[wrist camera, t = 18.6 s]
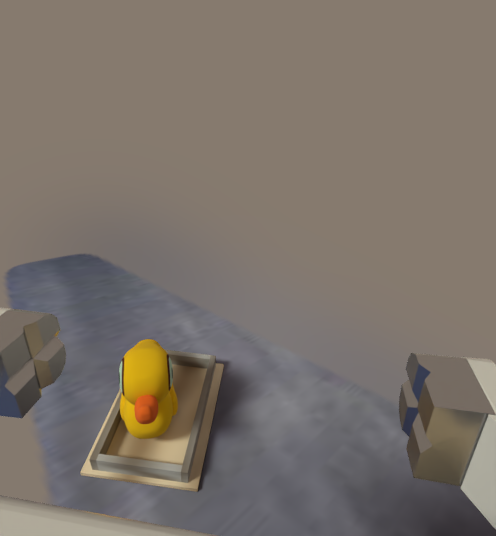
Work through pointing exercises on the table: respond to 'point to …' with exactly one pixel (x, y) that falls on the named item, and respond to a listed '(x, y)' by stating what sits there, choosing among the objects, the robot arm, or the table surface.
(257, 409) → the table surface
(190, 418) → the shallow wooden tray
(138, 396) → the duckling
